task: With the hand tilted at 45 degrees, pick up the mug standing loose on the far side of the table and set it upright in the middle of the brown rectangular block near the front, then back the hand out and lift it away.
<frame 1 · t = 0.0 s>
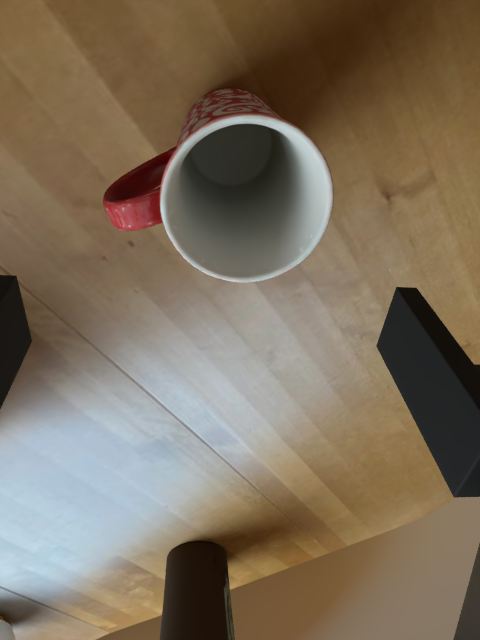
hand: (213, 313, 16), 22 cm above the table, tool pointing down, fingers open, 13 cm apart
mug: (207, 141, 34), on the table
olive oil: (197, 555, 71), on the table
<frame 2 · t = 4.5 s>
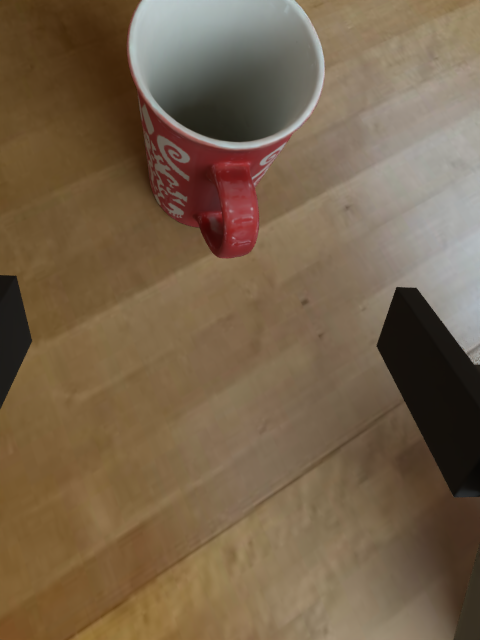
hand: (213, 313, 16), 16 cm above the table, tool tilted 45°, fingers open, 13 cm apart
mug: (199, 204, 33), on the table
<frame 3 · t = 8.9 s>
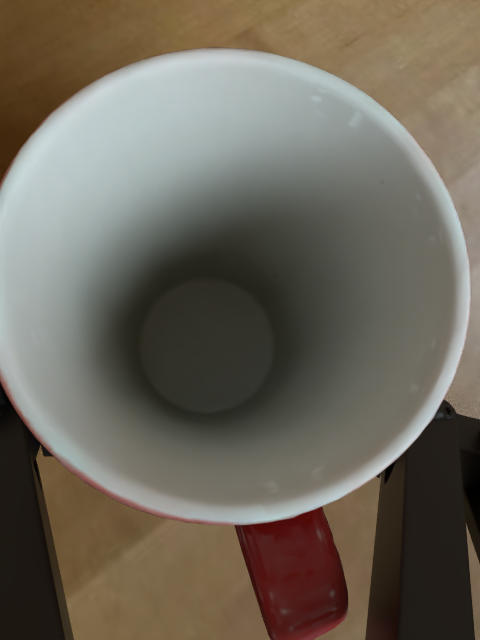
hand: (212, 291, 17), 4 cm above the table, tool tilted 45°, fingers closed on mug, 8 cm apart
mug: (211, 382, 21), on the table, touching gripper
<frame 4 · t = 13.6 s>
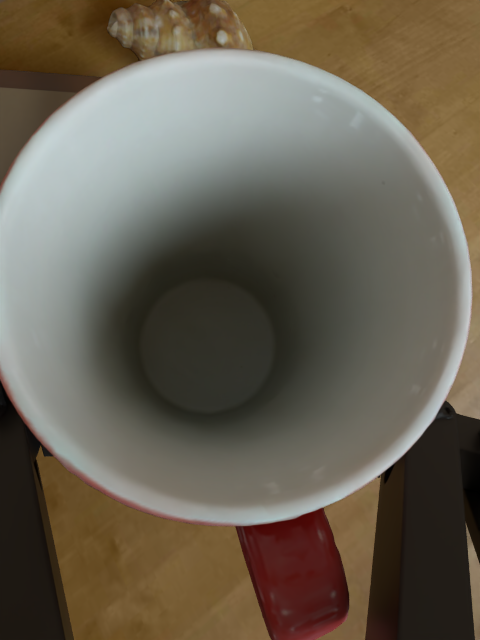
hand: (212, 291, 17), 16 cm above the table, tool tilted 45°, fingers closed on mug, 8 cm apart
mug: (212, 382, 21), point 12 cm above the table, touching gripper
brown rectangular block: (57, 197, 34), on the table
seashell: (195, 78, 37), on the table
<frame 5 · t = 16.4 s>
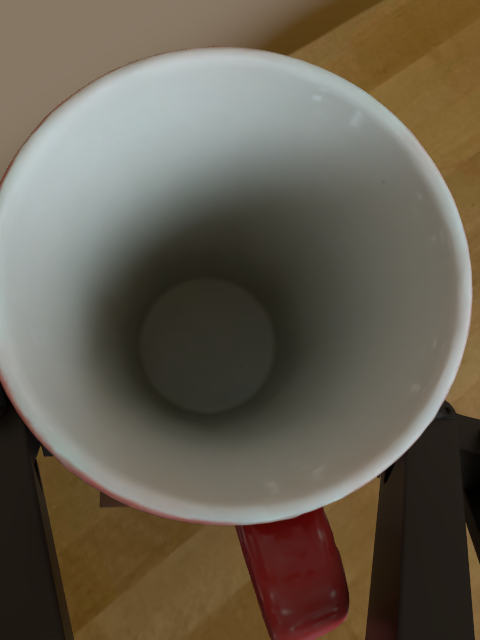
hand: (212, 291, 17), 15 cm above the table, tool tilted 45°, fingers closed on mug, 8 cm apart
mug: (211, 382, 21), point 10 cm above the table, touching gripper
when the fingers open (9 cm above the table, at t = 18.4 s): mug stays where it is, resting on brown rectangular block.
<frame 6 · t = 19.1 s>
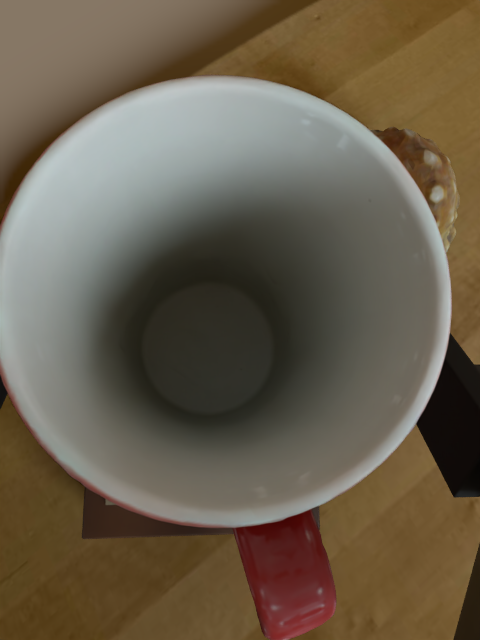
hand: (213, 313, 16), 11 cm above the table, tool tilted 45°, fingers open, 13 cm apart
mug: (212, 384, 22), point 5 cm above the table, touching brown rectangular block
brown rectangular block: (203, 383, 26), on the table
seashell: (361, 215, 29), on the table
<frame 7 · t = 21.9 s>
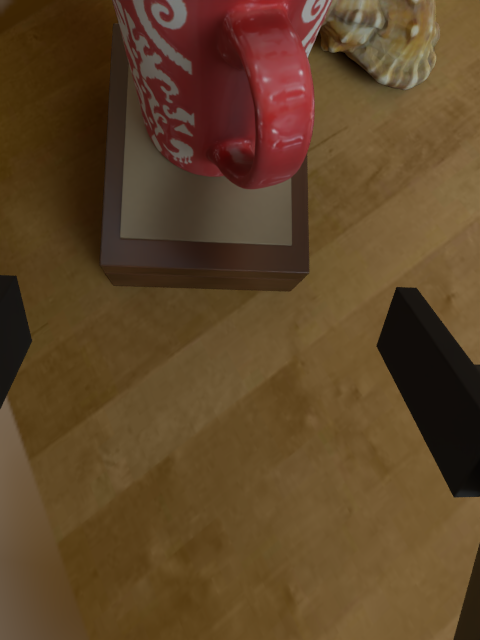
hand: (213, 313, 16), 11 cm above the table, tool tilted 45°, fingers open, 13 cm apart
mug: (214, 147, 24), point 5 cm above the table, touching brown rectangular block
brown rectangular block: (206, 183, 29), on the table
seashell: (350, 48, 32), on the table
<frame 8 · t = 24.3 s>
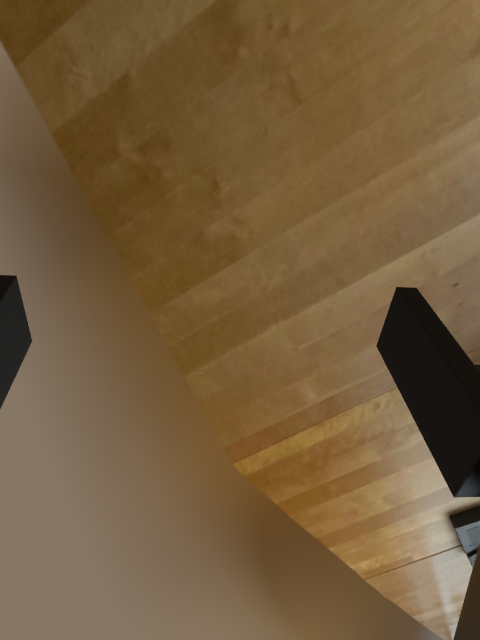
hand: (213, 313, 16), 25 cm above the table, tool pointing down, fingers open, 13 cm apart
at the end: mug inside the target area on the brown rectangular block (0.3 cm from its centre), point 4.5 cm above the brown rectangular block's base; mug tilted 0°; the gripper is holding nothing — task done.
